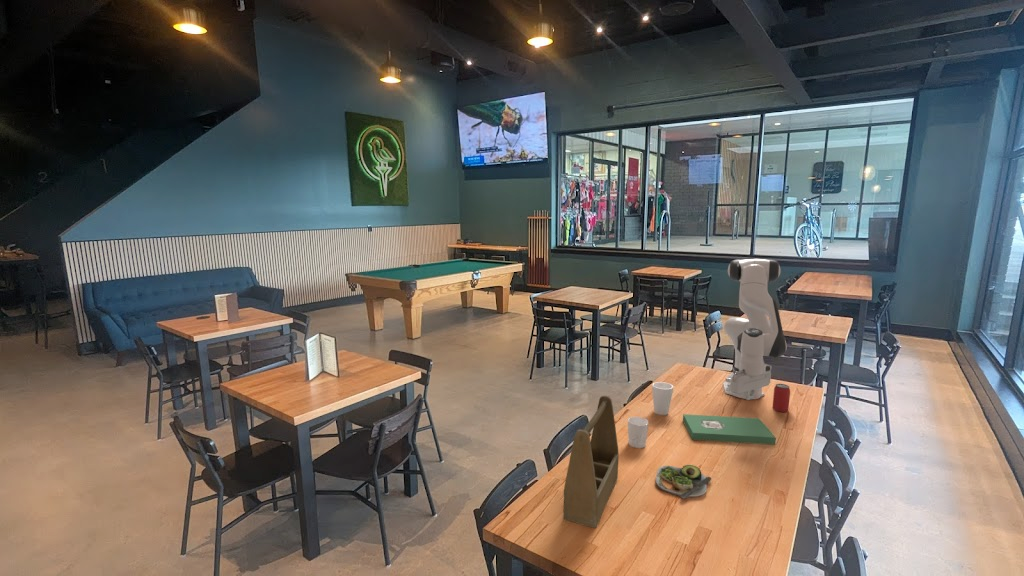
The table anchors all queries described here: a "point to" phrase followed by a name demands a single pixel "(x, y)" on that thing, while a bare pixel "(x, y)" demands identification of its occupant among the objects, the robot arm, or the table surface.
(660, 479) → the avocado toast plate
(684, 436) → the table surface
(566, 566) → the table surface
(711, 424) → the ball
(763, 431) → the green rectangular slab
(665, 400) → the foam cup
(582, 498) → the caddy
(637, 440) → the white cup
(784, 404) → the beer can
